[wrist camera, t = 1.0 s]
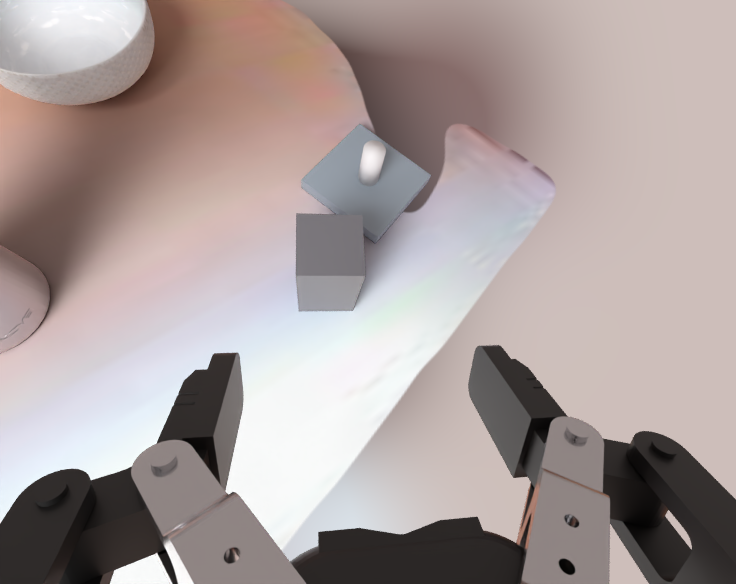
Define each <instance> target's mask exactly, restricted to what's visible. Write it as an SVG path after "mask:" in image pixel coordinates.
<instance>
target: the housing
mask: <svg viewBox="0 0 736 584" xmlns="http://www.w3.org/2000/svg"><path fill="white" fill-rule="evenodd" d="M365 276H366V275H365V255H364V235H363V215H335V214H298V213H296V283H297V295H298V306H299V311H353V308H354V306H355V303H356V300H357V298H358V295H359V292H360V290H361V287H362V284H363V282H364V279H365Z"/></svg>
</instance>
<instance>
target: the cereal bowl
mask: <svg viewBox="0 0 736 584" xmlns="http://www.w3.org/2000/svg"><path fill="white" fill-rule="evenodd" d="M154 40H155V37H154V25H153V21H152V17H151V13H150V9H149V7H148V3H147V0H0V84H1V85H2V86H4V87H5V88H7V89H9V90H11V91H13V92H14V93H18V94H20V95H22V96H24V97H28V98H30V99H33V100H38V101H41V102H46V103H50V104H57V105H82V104H88V103H89V104H92V103H96V102H98V101H103V100H106V99H109V98H111V97H114V96H117V95H118V94H120V93H122V92H124V91H125V90H126V89H128V88H129V87H131V86H132V85H133V84H135V82H136V81H137V80H138V79H140V77H141V76H142V75H143V74H144V72H145V70H146V69H147V67H148V65H149V63H150V60H151V58H152V54H153V50H154Z"/></svg>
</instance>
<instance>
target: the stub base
mask: <svg viewBox="0 0 736 584" xmlns="http://www.w3.org/2000/svg"><path fill="white" fill-rule="evenodd" d="M430 177H431V175H430V174H429V173H427V172H426V171H425V170H423V169H422V168H420V167H419V166H418V165H416V164H415V163H413V162H412V161H411V160H409V159H408V158H406V157H405V156H404V155H402V154H401V153H399V152H398V151H397V150H395V149H394V148H392V147H391V146H390V145H389V144H387V143H386V142H384V141H383V140H382V139H380V138H379V137H377V136H376V135H375V134H373V133H372V132H371V131H369V130H368V129H366V128H365V127H364V126H362V125H361V124H359V125H358V126H357V127H356V128H355V129H354V130H353V131H352V132H351V133H349V134H348V135H347V136H346V137H345V138H344V139H343V140H342V141H341V142H340V143H339V144H338V145H337V146H336V147H335V148H334V149H333V150H332V151H331V152H330V153H329V154H328V155H327V156H326V157H325V158H324V159H322V160H321V161H320V162H319V163H318V164H317V165H316V166H315V167H314V168H313V169H312V170H311V171H310V172H309V173H308V174H307V175H306V176H305V177H304V178H303V179H302V180H301V183H302V189H304V190H305V191H306V192H308V193H309V194H310V195H312V196H313V197H314V198H316V199H317V200H318V201H320V202H321V203H322V204H324V205H325V206H326V207H328V208H329V209H330V210H332V211H333V212H334V213H335V214H337V215H363V235H365V236H366V237H367V238H369V239H370V240H371V241H373V242H374V243H376V242H377V241H378V240H379V239H380V238H381V236H382V235H383V234H384V233H385V232H386V231H387V229H388V228H389V227H390V226H391V225H392V224H393V222H394V221H395V220H396V219H397V218H398V217H399V216H400V214H401V213H402V212H403V211H404V210H405V209H406V207H407V206H408V205H409V204H410V203H411V202H412V200H413V199H414V198H415V197H416V196H417V195H418V194H419V192H420V191H421V190H422V189H423V188H424V187H425V185H426V184H427V183H428V181H429V179H430Z"/></svg>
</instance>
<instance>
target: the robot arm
mask: <svg viewBox="0 0 736 584" xmlns="http://www.w3.org/2000/svg"><path fill="white" fill-rule="evenodd" d="M49 301H50V290H49V285H48V282H47V280H46V277H45V276H44V275H43V273H42V272H41V271H40V270H39V269H38V268H37V267H36V266H35V265H33V264H32V263H30V262H29V261H27V260H25V259H24V258H22V257H20V256H18V255H17V254H15V253H13V252H12V251H10V250H8V249H7V248H5V247H3V246H2V245H0V353H2V352H5V351H7V350H9V349H11V348H13V347H15V346H17V345H18V344H20V343H21V342H23V341H24V340H25V339H27V338H28V337H29V336H30V335H31V334H32V333H33V332H34V331H35V330H36V329H37V328H38V326H39V325H40V323H41V322H42V320H43V319H44V317H45V314H46V312H47V310H48V306H49ZM468 385H469V394H470V398H471V400H472V402H473V404H474V406H475V407H476V409H477V411H478V413H479V415H480V417H481V419H482V421H483V422H484V424H485V426H486V428H487V430H488V432H489V434H490V435H491V437H492V439H493V441H494V443H495V445H496V446H497V448H498V450H499V452H500V454H501V456H502V458H503V460H504V461H505V463H506V465H507V467H508V469H509V471H510V473H511V475H512V476H513V478H517V477H528V478H529V480H530V481H531V484H530V487H529V489H528V494H527V498H526V503H525V507H524V511H523V516H522V520H521V524H520V529H519V533H518V538H517V542H516V543H515V542H513V541H511V540H509V539H507V538H505V537H502V536H500V535H498V534H494V533H491V532H488V531H483V529H482V527H481V524H480V522H479V519H478V517H470V518H459V519H449V520H440V521H437V522H435V523H432V524H429V525H427V526H425V527H422V528H420V529H417V530H414V531H412V532H409V533H407V534H401V535H400V534H393V533H387V532H380V531H374V530H368V529H361V528H356V529H345V530H335V531H324V532H319V533H318V537H319V540H318V543H319V545H318V547H315V548H312V549H310V550H308V551H306V552H304V553H302V554H300V555H299V556H298V557H296V558H295V559H293V560H292V561H290V562H289V560H288V559H287V558H286V556H285V555H284V554H283V552H282V551H281V550H280V548H279V547H278V546H277V544H276V543H275V542H274V540H273V539H272V538H271V537H270V535H269V534H268V533H267V531H266V530H265V529H264V527H263V526H262V525H261V523H260V522H259V521H258V519H257V518H256V517H255V516H254V514H253V513H252V512H251V510H250V509H249V508H248V506H247V505H246V504H245V502H244V501H243V500H242V499H241V497H240V496H239V495H238V494H237V493H235V492H232V493H231V494H229V495H228V494H227V493H226V492H225V490H226V485H227V480H228V476H229V471H230V466H231V461H232V457H233V452H234V447H235V442H236V438H237V433H238V428H239V424H240V419H241V414H242V409H243V385H242V375H241V366H240V357H239V354H238V353H214V354H213V356H212V359H211V361H210V364H209V367H208V369H207V370H195V371H194V372H193V373H192V374H191V375H190V376H189V377H188V378H187V379H185V380H184V382H183V384H182V387H181V389H180V391H179V395H178V396H177V398H176V400H175V403H174V406H173V407H172V409H171V412H170V414H169V416H168V418H167V421H166V423H165V425H164V428H163V430H162V432H161V434H160V437H159V439H158V441H157V444H155V445H153V446H151V447H149V448H148V449H146V450H145V451H143V452H142V453H141V454H140V455H139V456H138V457H137V459H136V460H135V462H134V463H133V466H132V467H130V468H128V469H126V470H123V471H120V472H117V473H114V474H111V475H107V476H104V477H101V478H98V479H94V480H90V477H89V475H88V474H87V473H86V472H84V471H82V470H79V469H65V470H60V471H57V472H54V473H51V474H48V475H46V476H44V477H42V478H40V479H39V480H37V481H35V482H34V483H32V484H31V485H30V486H28V487H27V488H26V489H25V490H24V491H23V492H22V493H21V494H20V495H19V496H18V498H17V499H16V501H15V502H14V504H13V505H12V507H11V508H10V510H9V511H8V513H7V514H6V516H5V517H4V519H3V520H2V522H1V523H0V584H110V581H111V578H112V575H113V572H114V570H116V569H118V568H121V567H123V566H126V565H128V564H131V563H133V562H136V561H138V560H141V559H143V558H146V557H148V556H151V555H153V554H155V555H156V557H157V559H158V561H159V563H160V565H161V567H162V569H163V571H164V573H165V575H166V577H167V579H168V581H169V583H170V584H609V554H610V553H609V552H610V524H611V525H612V527H613V528H614V530H615V531H616V533H617V535H618V536H619V538H620V539H621V541H622V542H623V544H624V546H625V547H626V549H627V550H628V552H629V553H630V555H631V556H632V558H633V559H634V561H635V563H636V564H637V565H638V567H639V569H640V570H641V572H642V573H643V575H644V576H645V578H646V580H647V581H648V583H649V584H736V499H735V498H734V497H733V496H732V495H730V493H728V491H727V490H726V489H725V488H724V487H722V485H721V484H720V483H718V481H717V480H716V479H714V477H713V476H712V475H711V474H710V473H709V472H708V471H707V470H706V469H704V467H703V466H702V465H701V464H700V463H699V462H698V461H697V460H696V459H695V458H694V457H693V456H692V455H691V454H690V453H689V452H688V451H687V450H686V449H685V448H683V447H682V446H681V445H680V444H678V443H677V442H675V441H674V440H672V439H670V438H668V437H666V436H664V435H661V434H658V433H654V432H649V431H642V432H638V433H636V434H635V435H634V437H633V440H632V441H631V444H628V443H623V442H618V441H612V440H607V439H603V438H602V437H601V435H600V434H599V432H598V431H597V430H596V429H594V428H593V427H592V426H591V425H589V424H587V423H586V422H583V421H581V420H579V419H576V418H572V417H568V416H567V415H566V414H565V413H564V411H562V409H561V408H560V407H559V405H558V404H557V403H556V402H555V400H554V399H553V398H552V397H551V395H550V394H549V393H548V392H547V390H546V389H544V388H543V386H542V384H541V383H540V382H539V381H538V380H536V377H535V376H534V374H533V373H532V372H531V371H530V370H529V368H528V367H526V366H525V365H523V364H522V363H520V362H519V361H517V360H516V359H511V358H510V357H509V356H508V354H507V353H506V352H505V351H504V349H503V348H502V347H501V346H499V345H493V346H478V347H477V348H476V350H475V354H474V359H473V363H472V368H471V373H470V378H469V384H468ZM668 510H669V511H670V512H671V513H672V514H673V516H674V517H675V518H676V519H677V520H678V522H679V523H680V524H681V525H682V527H683V528H684V529H685V531H686V532H687V534H688V535H689V537H690V540H691V544H692V550H691V549H690V548H689V546H688V545H687V544H686V543H685V541H684V540H683V539H682V538H681V536H680V535H679V534H678V532H677V531H676V530H675V529H674V527H673V526H672V525H671V524H670V522H669V521H668V520H667V518H666V517H665V515H666V513H667V511H668Z"/></svg>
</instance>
